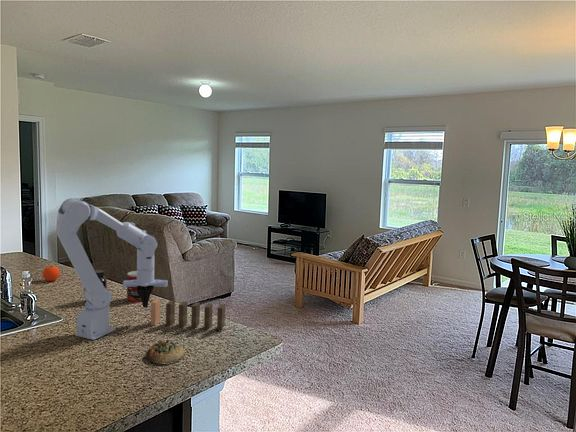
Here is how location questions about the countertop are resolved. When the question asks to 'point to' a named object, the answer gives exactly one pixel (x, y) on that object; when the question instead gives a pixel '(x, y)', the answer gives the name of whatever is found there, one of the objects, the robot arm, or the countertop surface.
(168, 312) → the domino
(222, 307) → the domino
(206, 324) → the domino
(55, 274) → the clementine
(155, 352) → the bread roll
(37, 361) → the countertop surface
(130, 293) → the canned food
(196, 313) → the domino
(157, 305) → the domino
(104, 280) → the supplement bottle
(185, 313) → the domino
